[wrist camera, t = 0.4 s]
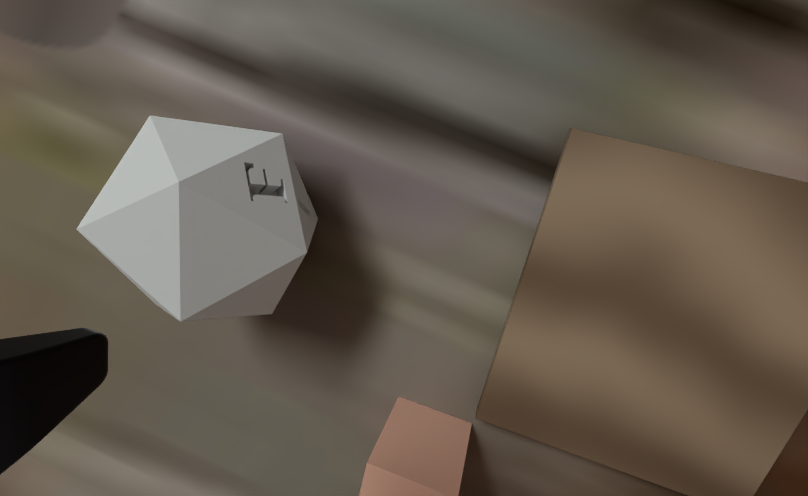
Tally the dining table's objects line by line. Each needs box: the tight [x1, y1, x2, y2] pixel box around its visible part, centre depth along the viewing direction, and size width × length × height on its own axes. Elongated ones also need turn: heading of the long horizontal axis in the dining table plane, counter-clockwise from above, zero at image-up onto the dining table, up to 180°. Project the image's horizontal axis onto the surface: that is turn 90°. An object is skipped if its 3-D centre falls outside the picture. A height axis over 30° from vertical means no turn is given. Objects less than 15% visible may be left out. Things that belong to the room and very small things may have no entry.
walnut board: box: [475, 128, 808, 496], centre depth 19 cm, size 14×12×1 cm
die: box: [77, 116, 318, 322], centre depth 19 cm, size 8×9×10 cm
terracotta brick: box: [359, 397, 472, 496], centre depth 22 cm, size 6×4×5 cm, turn 168°
